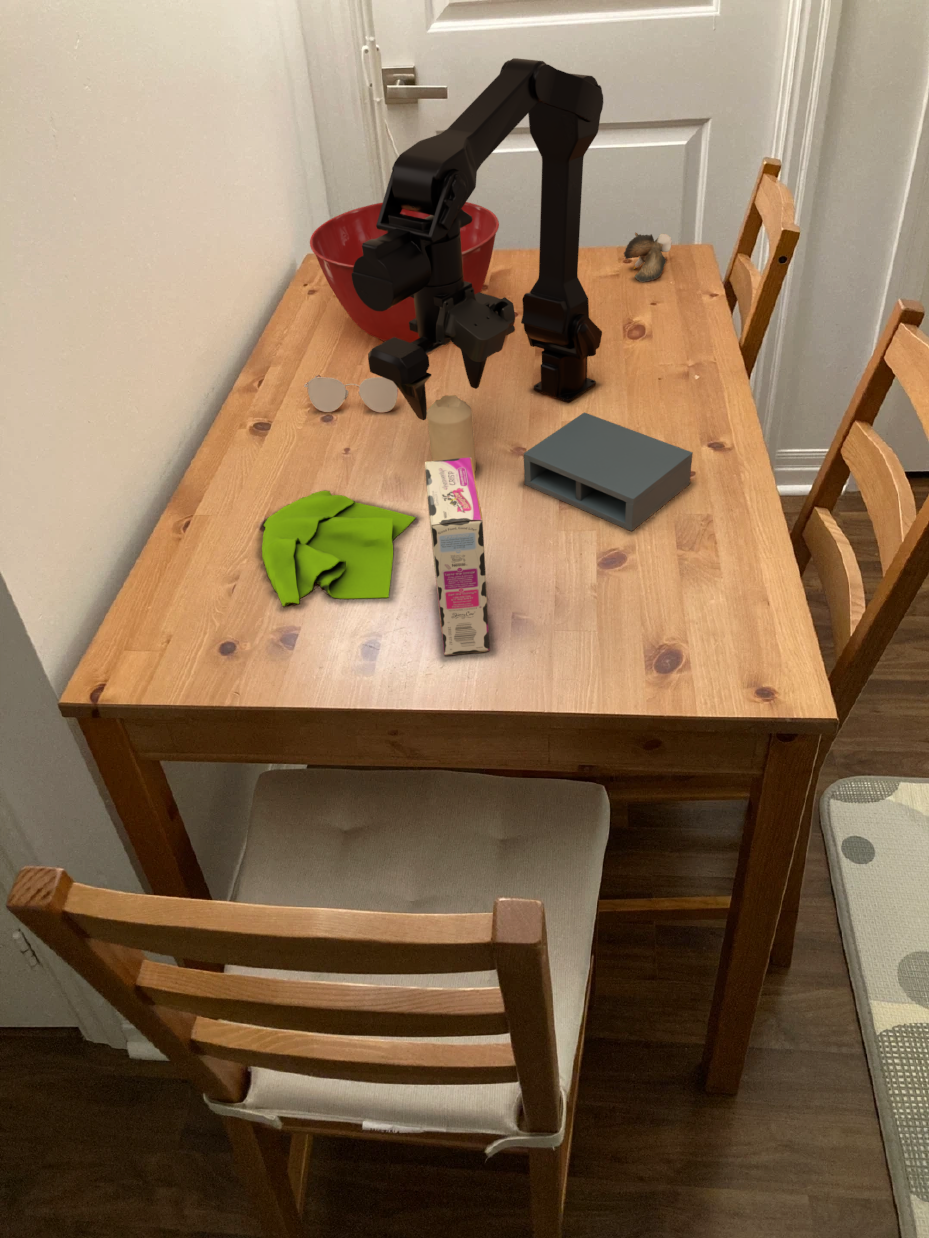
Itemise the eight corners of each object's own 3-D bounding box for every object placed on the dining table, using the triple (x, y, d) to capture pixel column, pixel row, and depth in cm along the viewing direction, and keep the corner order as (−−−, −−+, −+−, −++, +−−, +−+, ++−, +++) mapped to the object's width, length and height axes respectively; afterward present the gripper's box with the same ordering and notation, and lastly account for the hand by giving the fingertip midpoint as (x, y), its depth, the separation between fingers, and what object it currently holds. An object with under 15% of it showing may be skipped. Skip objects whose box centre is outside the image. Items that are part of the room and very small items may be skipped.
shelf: (583, 442, 127) (584, 412, 124) (689, 484, 118) (693, 452, 115) (524, 484, 120) (523, 453, 117) (631, 531, 112) (633, 499, 109)
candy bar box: (493, 652, 98) (484, 520, 88) (444, 658, 98) (428, 526, 87) (482, 582, 107) (472, 454, 96) (436, 587, 107) (421, 459, 96)
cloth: (318, 483, 124) (315, 466, 122) (458, 534, 114) (457, 517, 112) (200, 570, 112) (195, 553, 110) (346, 636, 102) (342, 619, 100)
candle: (471, 484, 121) (466, 413, 115) (428, 482, 122) (420, 411, 116) (479, 460, 125) (475, 390, 119) (438, 458, 126) (431, 388, 120)
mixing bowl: (290, 331, 158) (271, 235, 147) (424, 275, 171) (415, 183, 161) (402, 387, 141) (389, 283, 131) (540, 320, 155) (538, 221, 144)
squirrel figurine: (621, 252, 170) (612, 263, 162) (646, 216, 166) (638, 226, 158) (656, 279, 170) (649, 291, 163) (682, 244, 166) (676, 254, 159)
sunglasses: (306, 412, 138) (301, 377, 135) (322, 391, 145) (317, 358, 142) (403, 412, 136) (400, 377, 133) (414, 392, 143) (411, 358, 140)
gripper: (430, 326, 98) (444, 459, 108) (548, 263, 107) (550, 390, 118) (356, 299, 104) (375, 428, 114) (473, 242, 113) (481, 365, 124)
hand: (448, 403), depth 117 cm, fingers open, 9 cm apart
